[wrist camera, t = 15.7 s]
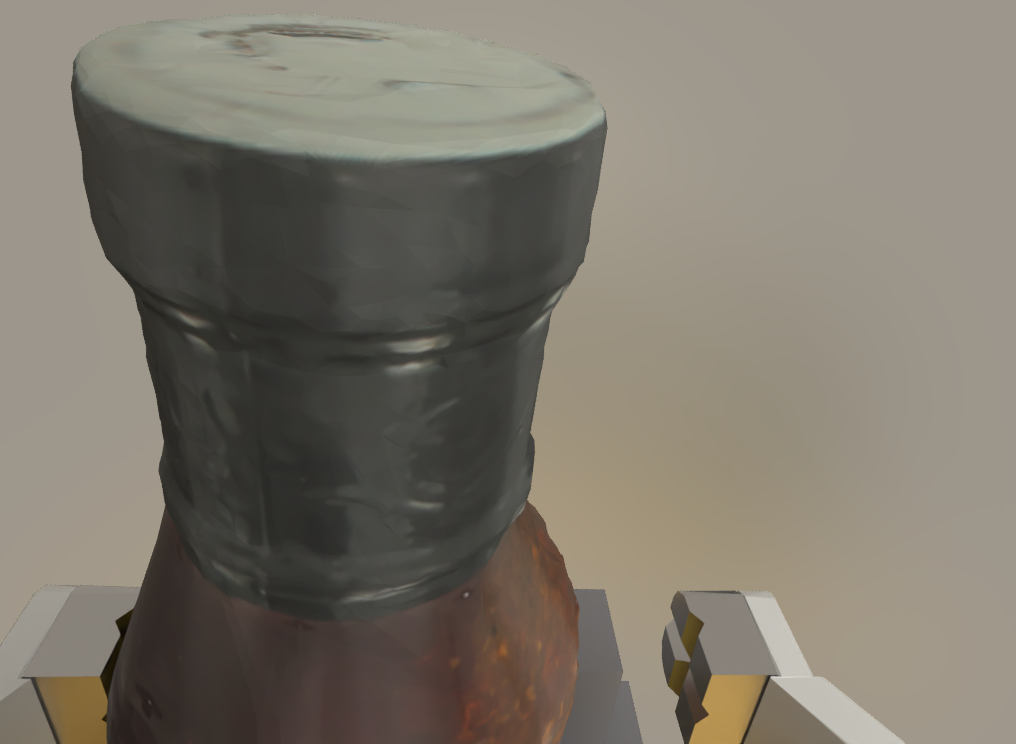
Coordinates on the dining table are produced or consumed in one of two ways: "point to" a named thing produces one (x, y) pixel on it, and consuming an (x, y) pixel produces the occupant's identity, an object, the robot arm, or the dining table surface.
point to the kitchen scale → (599, 681)
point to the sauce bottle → (342, 373)
